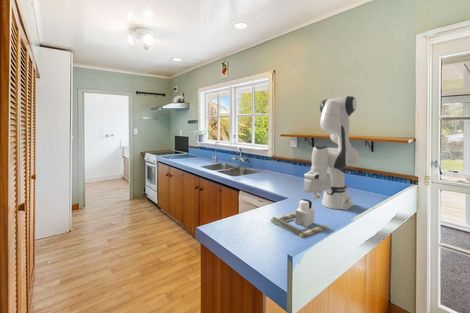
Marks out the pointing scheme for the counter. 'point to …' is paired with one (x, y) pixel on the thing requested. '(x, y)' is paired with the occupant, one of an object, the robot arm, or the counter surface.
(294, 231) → the tan flat bar frame
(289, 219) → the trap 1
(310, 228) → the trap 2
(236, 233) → the counter surface
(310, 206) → the container
